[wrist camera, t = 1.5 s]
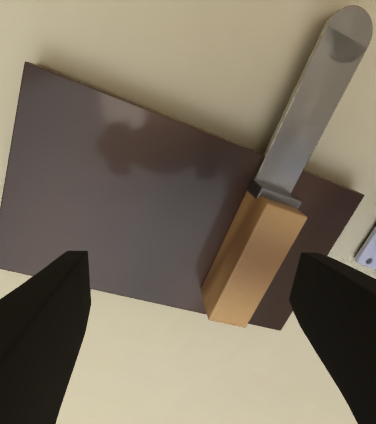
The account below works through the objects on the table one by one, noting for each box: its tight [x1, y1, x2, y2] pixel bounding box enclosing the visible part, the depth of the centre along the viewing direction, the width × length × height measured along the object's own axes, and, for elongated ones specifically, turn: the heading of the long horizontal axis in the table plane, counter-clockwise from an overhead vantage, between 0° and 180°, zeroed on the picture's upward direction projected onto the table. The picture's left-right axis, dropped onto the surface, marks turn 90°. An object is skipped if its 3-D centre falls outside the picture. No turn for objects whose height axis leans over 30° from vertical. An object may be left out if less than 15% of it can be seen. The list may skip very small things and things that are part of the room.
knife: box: [201, 6, 373, 328], centre depth 16 cm, size 18×3×3 cm, turn 159°
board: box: [0, 62, 364, 330], centre depth 19 cm, size 21×12×2 cm, turn 69°
